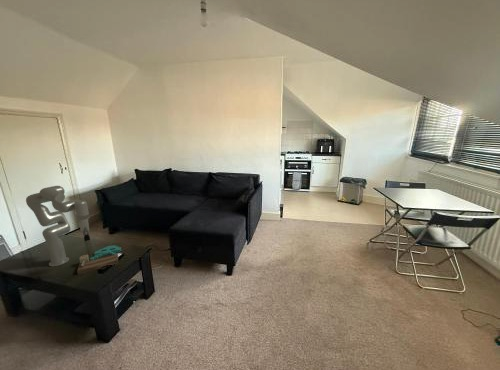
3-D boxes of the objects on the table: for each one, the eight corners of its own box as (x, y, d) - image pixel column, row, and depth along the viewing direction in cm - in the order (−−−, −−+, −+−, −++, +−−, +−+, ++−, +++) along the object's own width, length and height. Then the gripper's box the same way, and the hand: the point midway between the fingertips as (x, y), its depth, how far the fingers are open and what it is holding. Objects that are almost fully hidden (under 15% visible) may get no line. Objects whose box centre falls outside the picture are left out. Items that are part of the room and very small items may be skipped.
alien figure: (117, 256, 184) (123, 246, 202) (116, 254, 183) (122, 243, 202) (90, 261, 178) (99, 249, 196) (89, 258, 177) (98, 247, 196)
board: (80, 266, 169) (79, 263, 169) (118, 257, 182) (117, 253, 182) (77, 274, 159) (77, 271, 159) (118, 263, 172) (117, 260, 172)
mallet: (81, 263, 173) (80, 256, 172) (89, 262, 176) (87, 254, 174) (79, 272, 162) (77, 264, 160) (87, 270, 164) (85, 262, 163)
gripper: (76, 215, 161) (80, 235, 165) (77, 221, 148) (81, 243, 152) (88, 212, 166) (92, 233, 170) (90, 219, 153) (94, 240, 157)
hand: (87, 238), depth 161 cm, fingers open, 9 cm apart
